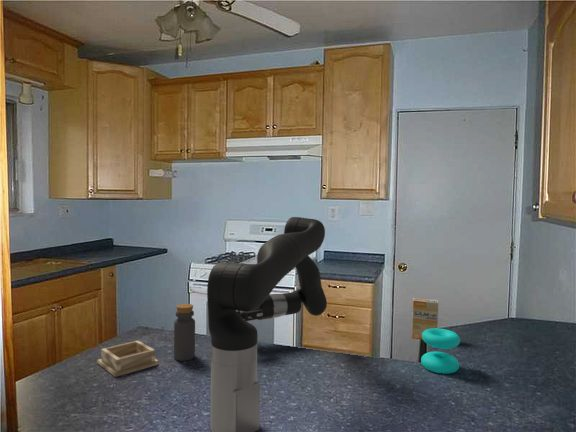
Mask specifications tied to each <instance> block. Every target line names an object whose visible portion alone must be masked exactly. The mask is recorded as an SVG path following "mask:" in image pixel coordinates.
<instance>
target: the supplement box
mask: <svg viewBox="0 0 576 432" xmlns="http://www.w3.org/2000/svg"><path fill="white" fill-rule="evenodd" d="M411 308H412V312H411V314H412V315H411V339H413V340H422V341H423V339H422V333H423V332H424V331H425V330H427V329H431V328H438V325H439V323H438V321H439V300H438V299H430V298H429V299H428V298H419V297H412V307H411Z"/></svg>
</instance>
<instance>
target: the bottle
mask: <svg viewBox="0 0 576 432" xmlns="http://www.w3.org/2000/svg"><path fill="white" fill-rule="evenodd" d="M193 309H194V305H193V304H191V303H181V304H177V305H176V311H175V316H176V317H177V319H175V320H174V323H173V328H174V331H173V344H174V345H173V347H174V348H173V359H175V360H176V361H180V362H181V361H182V362H184V361H185V362H186V361H190V360H192V359H194V358H195V357H196V355H195V354H196V320H195V318H193V317H194V315H195V312H194V310H193Z"/></svg>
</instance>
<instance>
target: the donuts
mask: <svg viewBox="0 0 576 432" xmlns="http://www.w3.org/2000/svg"><path fill="white" fill-rule="evenodd" d="M422 339H423V340H422V341H423V342H424V343H426V345H428V346H430V347H431V348H432V347H433V348H436V349H442V350H450V349H454V348H456V347H458V346H459V345H460V343H461V337H460V335H458V334H457V333H456V332H455V331H452V330H449V329H446V328H439V327H437V328H431V329H427V330H425V331H424V332H423V333H422ZM420 362H421V365H422V367H424V368H425V369H426V370H428V371H430V372H432V373H437V374H441V373H442V374H443V375H444V374H445V375H447V374H454V373H456V372H457V371H458V370H459V368H460V363H459V360H458V359H457V358H456V357H455V356H453V355H452V354H449V353H447V352H443V351H429V352H426V353H423V355H422V356H421V358H420Z"/></svg>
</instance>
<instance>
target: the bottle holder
mask: <svg viewBox="0 0 576 432" xmlns="http://www.w3.org/2000/svg"><path fill="white" fill-rule="evenodd" d="M100 355H101V357H100V358H99V359H97V364H98V365H99V366H101V368H103V369H104V370H106V372H108V373H110V374H111V375H112V376H113V377H114V378H117V377H121V376H123V375H127V374H130V373H133V372H139V371H141V370H144V369H147V368H148V369H149V368H151V367H154V366H158V365H160V362H159V361H160V360H158V359H156V349H154V348H152V347H150V346H149V345H147V344H146V343H144V342H142V341H140V340H133V341H130V342H124V343H121V344H117V345H112V346H109V347H104V348H101V349H100Z"/></svg>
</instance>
